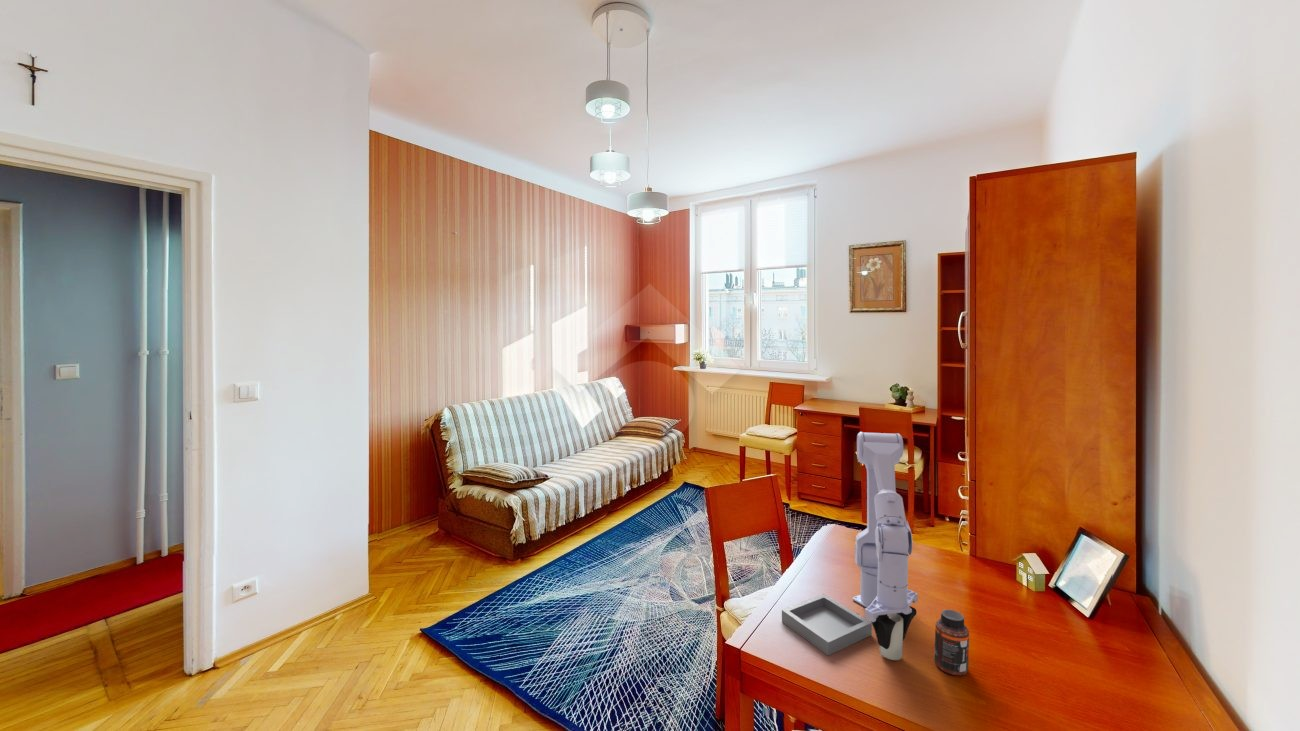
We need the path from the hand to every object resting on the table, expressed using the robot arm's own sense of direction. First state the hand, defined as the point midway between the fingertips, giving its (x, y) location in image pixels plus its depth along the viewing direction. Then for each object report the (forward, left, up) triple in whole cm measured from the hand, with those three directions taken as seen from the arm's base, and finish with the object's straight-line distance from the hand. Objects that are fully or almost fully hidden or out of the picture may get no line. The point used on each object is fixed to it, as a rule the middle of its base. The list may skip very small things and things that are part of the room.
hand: (891, 642), depth 105 cm
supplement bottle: (-8, +8, -4) cm, 12 cm away
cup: (0, 0, -2) cm, 2 cm away
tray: (+4, -14, -3) cm, 15 cm away
